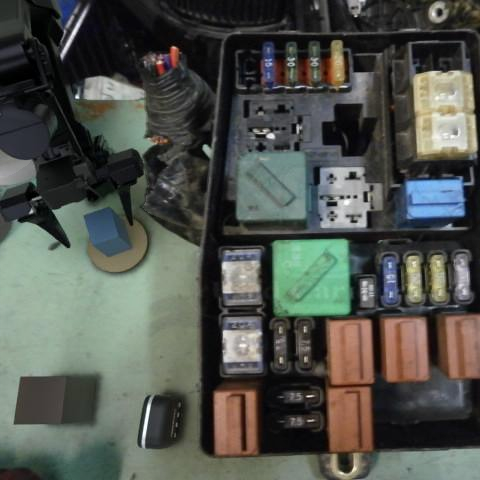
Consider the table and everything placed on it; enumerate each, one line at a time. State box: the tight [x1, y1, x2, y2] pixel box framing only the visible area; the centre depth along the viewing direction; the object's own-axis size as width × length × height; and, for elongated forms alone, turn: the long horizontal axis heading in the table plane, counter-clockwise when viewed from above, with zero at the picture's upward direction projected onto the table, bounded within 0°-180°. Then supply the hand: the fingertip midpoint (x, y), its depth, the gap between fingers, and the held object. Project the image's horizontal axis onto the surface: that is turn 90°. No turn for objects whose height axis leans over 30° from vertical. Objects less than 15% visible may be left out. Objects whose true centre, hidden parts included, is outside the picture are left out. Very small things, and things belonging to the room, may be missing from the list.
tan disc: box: [86, 215, 149, 273], centre depth 87 cm, size 9×9×1 cm
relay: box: [83, 206, 132, 257], centre depth 83 cm, size 4×5×7 cm
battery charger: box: [136, 393, 184, 450], centre depth 75 cm, size 7×4×11 cm, turn 175°
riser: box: [13, 375, 97, 426], centre depth 75 cm, size 6×6×11 cm
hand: (101, 235), depth 78 cm, fingers open, 9 cm apart
